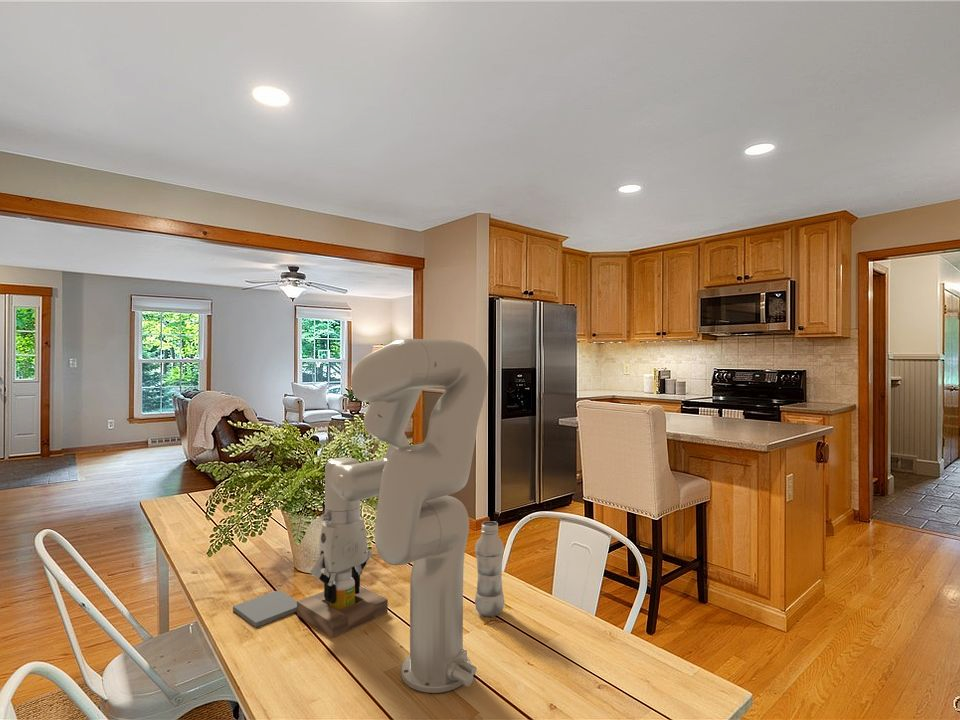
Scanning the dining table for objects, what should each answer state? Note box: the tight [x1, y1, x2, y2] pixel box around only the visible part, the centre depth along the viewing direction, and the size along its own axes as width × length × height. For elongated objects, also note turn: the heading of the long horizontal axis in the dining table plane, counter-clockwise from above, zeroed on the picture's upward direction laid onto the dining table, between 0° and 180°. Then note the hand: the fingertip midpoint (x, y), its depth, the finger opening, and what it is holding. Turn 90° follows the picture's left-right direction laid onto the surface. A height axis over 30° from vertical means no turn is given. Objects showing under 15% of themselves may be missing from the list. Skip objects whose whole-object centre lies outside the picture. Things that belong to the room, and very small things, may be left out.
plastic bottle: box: [474, 520, 505, 618], centre depth 117 cm, size 6×7×20 cm
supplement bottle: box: [330, 568, 355, 610], centre depth 117 cm, size 5×5×10 cm
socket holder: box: [296, 585, 389, 639], centre depth 117 cm, size 14×14×3 cm
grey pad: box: [232, 589, 298, 628], centre depth 118 cm, size 11×11×1 cm
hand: (342, 595), depth 117 cm, fingers closed on supplement bottle, 5 cm apart
